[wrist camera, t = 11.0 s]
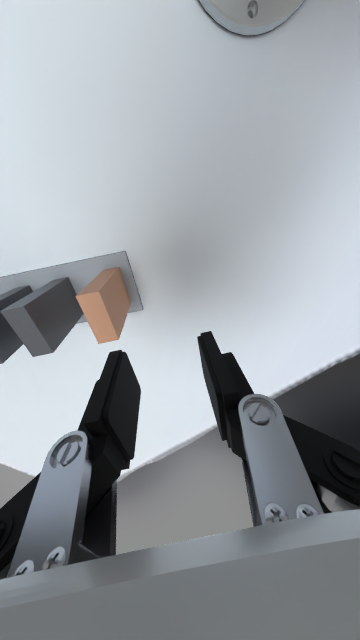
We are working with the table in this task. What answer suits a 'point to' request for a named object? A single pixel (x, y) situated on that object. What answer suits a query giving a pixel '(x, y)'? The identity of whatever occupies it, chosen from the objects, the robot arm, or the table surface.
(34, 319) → the domino
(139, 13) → the table surface
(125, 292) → the domino
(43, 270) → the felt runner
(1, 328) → the domino
